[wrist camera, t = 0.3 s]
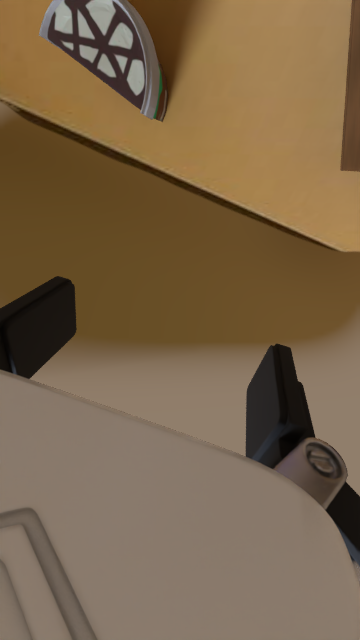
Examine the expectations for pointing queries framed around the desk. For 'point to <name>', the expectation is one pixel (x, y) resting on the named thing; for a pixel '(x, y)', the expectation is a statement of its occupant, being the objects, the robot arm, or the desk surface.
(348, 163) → the box
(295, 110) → the desk surface
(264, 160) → the desk surface
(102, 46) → the food container
